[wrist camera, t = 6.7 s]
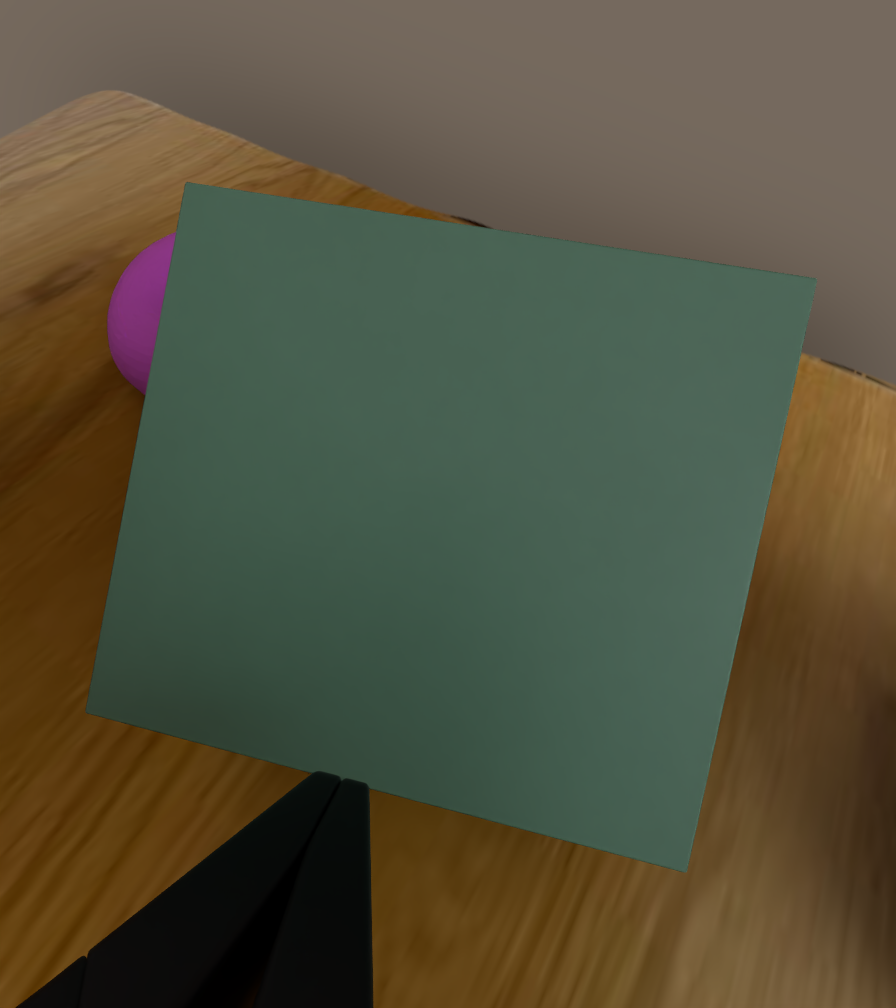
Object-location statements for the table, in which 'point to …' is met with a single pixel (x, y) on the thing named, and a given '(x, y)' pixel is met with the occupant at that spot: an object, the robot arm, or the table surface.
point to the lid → (450, 511)
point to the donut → (139, 311)
